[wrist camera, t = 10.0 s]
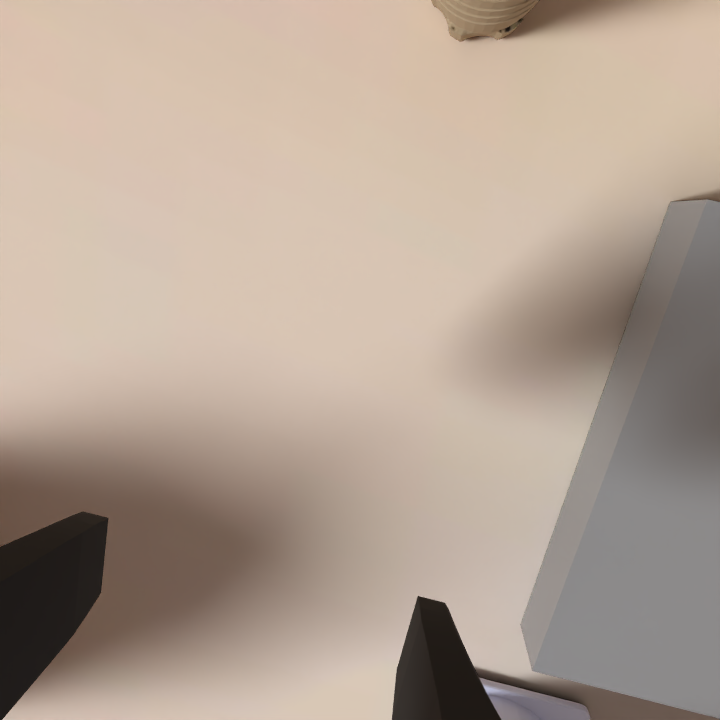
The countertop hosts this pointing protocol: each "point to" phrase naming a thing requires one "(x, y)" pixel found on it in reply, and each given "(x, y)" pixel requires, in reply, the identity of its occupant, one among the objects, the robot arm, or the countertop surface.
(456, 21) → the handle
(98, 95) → the countertop surface
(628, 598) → the socket plate
